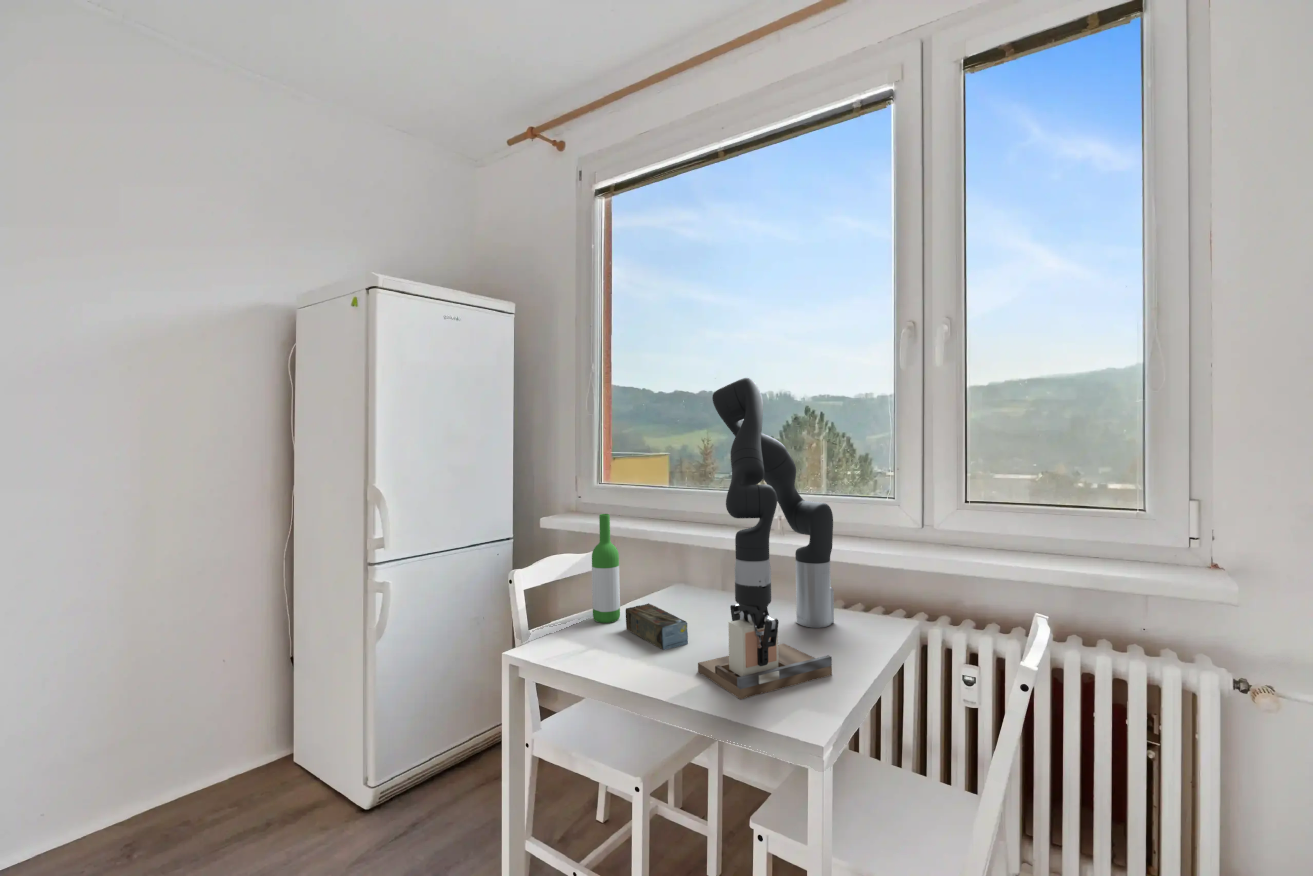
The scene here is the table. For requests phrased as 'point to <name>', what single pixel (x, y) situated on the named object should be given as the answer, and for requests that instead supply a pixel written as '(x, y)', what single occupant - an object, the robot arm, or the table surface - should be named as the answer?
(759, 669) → the tea box
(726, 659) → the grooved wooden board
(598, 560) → the wine bottle
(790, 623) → the table surface
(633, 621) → the beverage carton
